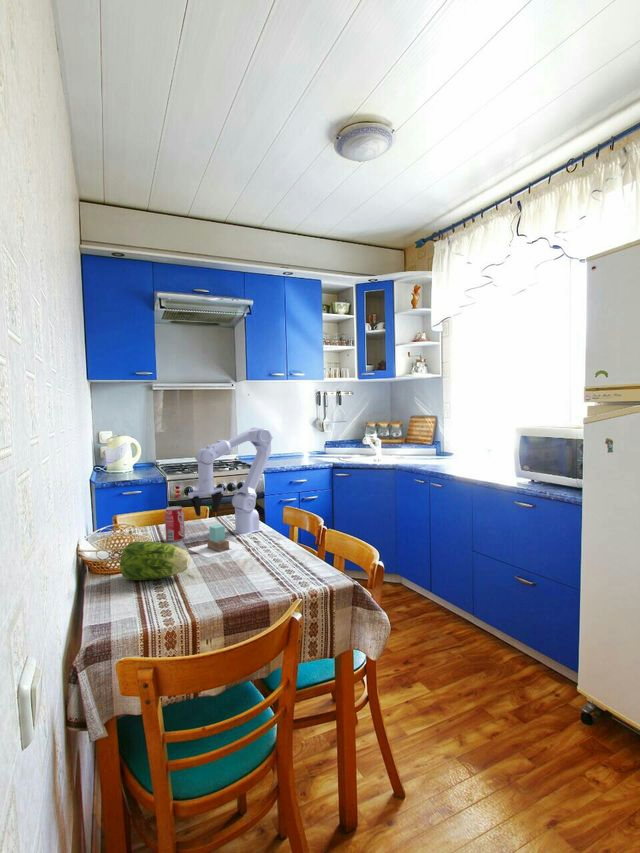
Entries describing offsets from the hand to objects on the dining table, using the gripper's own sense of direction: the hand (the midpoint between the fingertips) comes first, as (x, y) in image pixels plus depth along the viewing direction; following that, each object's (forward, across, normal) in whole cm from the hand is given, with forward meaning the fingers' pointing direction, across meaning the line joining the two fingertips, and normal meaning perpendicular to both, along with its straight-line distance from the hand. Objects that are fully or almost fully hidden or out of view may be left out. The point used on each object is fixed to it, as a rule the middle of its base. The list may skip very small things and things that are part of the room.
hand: (207, 513), depth 179 cm
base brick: (+10, +4, +14) cm, 18 cm away
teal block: (+7, +4, +14) cm, 16 cm away
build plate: (+10, +4, +13) cm, 17 cm away
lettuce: (+11, +32, +24) cm, 41 cm away
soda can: (+11, +9, -9) cm, 17 cm away
